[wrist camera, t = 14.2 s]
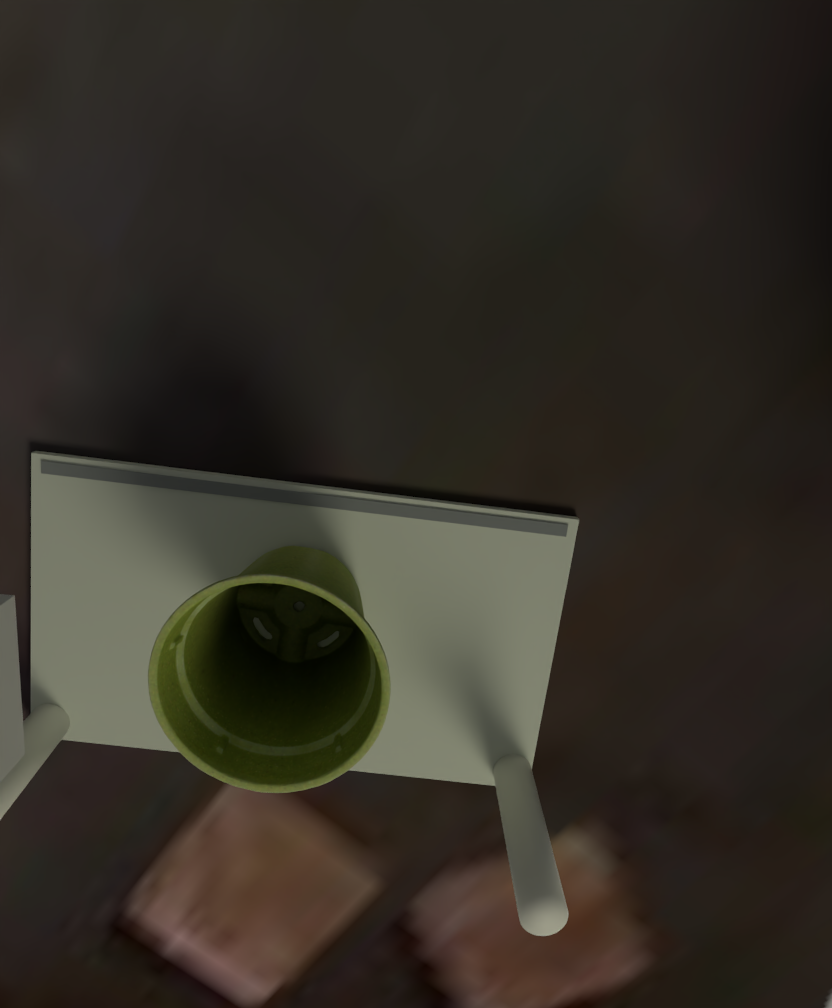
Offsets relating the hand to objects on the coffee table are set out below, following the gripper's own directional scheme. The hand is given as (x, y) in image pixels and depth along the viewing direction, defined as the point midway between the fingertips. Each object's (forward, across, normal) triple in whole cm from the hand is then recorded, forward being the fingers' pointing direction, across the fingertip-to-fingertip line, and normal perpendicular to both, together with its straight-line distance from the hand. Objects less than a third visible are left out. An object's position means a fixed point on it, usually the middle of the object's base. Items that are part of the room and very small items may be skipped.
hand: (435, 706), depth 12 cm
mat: (+26, +6, +11) cm, 29 cm away
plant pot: (+26, +6, +9) cm, 28 cm away
